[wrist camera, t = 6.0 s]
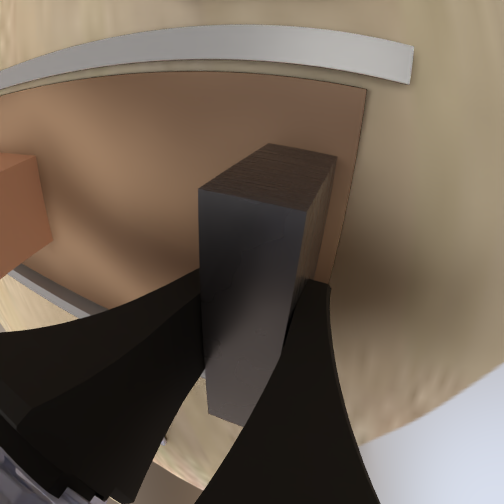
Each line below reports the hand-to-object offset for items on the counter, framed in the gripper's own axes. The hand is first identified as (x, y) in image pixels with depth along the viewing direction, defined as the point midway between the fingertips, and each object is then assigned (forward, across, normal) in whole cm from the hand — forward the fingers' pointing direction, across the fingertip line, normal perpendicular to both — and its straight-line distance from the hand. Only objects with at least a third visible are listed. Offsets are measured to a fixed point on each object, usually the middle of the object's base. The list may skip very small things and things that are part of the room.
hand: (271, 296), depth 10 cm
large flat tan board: (+2, +10, 0) cm, 11 cm away
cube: (+2, +16, 0) cm, 16 cm away
